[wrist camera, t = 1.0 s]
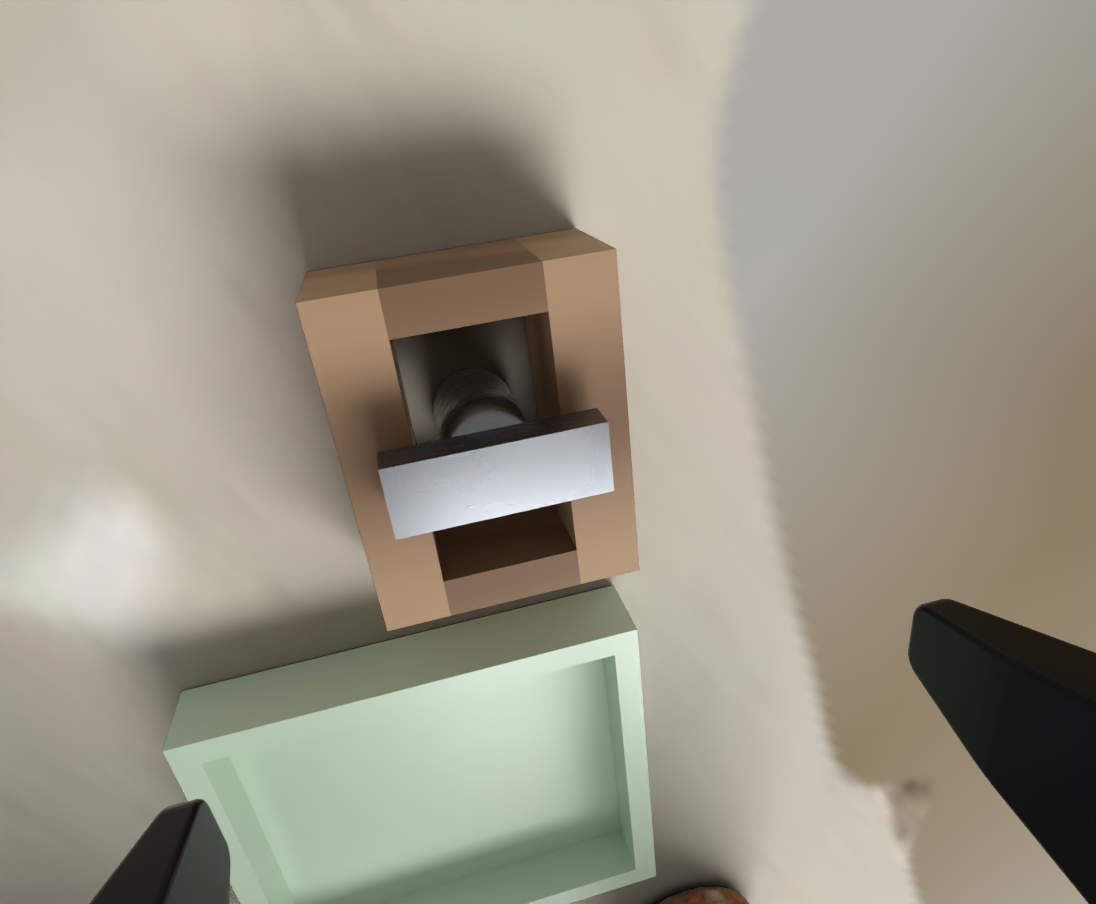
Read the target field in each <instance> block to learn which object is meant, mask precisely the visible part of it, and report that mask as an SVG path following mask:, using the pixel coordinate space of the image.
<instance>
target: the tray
mask: <svg viewBox="0 0 1096 904" xmlns="http://www.w3.org/2000/svg"><path fill="white" fill-rule="evenodd" d="M163 754H164V755H165V757H166V759H167V761H168V763H169V765H170V767H171V769H172V771H173V773H174V775H175V777H176V779H177V781H178V783H179V785H180V787H181V789H182V791H183V793H184V795H185V797H186V798H187V800H188V801H191V800H195V799H202V800H204V801H205V802H207V804H208V805H209V807H210V809H211V811H212V813H213V815H214V817H215V819H216V821H217V823H218V825H219V827H220V829H221V831H222V833H223V836H224V838H225V840H226V842H227V844H228V848H229V852H230V862H231V867H230V884H231V886H232V888H233V890H234V892H235V894H236V896H237V898H238V900H239V902H240V904H570V903H573V902H576V901H579V900H583V899H586V898H589V897H592V896H595V895H598V894H602V893H605V892H608V891H611V890H614V889H617V888H621V887H624V886H627V885H630V884H633V883H636V882H640V881H643V880H646V879H649V878H652V877H655V876H656V865H655V852H654V839H653V826H652V813H651V800H650V787H649V775H648V762H647V749H646V736H645V723H644V710H643V697H642V684H641V671H640V658H639V645H638V632H637V628H636V626H635V624H634V622H633V621H632V619H631V617H630V615H629V613H628V611H627V609H626V608H625V606H624V604H623V602H622V600H621V598H620V596H619V595H618V593H617V591H616V589H615V587H614V585H612V586H608V587H604V588H600V589H596V590H592V591H588V592H584V593H580V594H576V595H572V596H567V597H563V598H559V599H555V600H551V601H547V602H543V603H539V604H535V605H531V606H527V607H523V608H519V609H515V610H510V611H506V612H502V613H498V614H494V615H490V616H486V617H482V618H478V619H474V620H470V621H466V622H462V623H458V624H453V625H449V626H445V627H441V628H437V629H433V630H429V631H425V632H421V633H417V634H413V635H409V636H405V637H401V638H396V639H392V640H388V641H384V642H380V643H376V644H372V645H368V646H364V647H360V648H356V649H352V650H348V651H344V652H339V653H335V654H331V655H327V656H323V657H319V658H315V659H311V660H307V661H303V662H299V663H295V664H291V665H287V666H282V667H278V668H274V669H270V670H266V671H262V672H258V673H254V674H250V675H246V676H242V677H238V678H234V679H230V680H225V681H221V682H217V683H213V684H209V685H205V686H201V687H197V688H193V689H189V690H185V691H181V695H180V698H179V701H178V704H177V707H176V710H175V714H174V717H173V720H172V723H171V726H170V729H169V733H168V736H167V739H166V742H165V745H164V748H163Z"/></svg>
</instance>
